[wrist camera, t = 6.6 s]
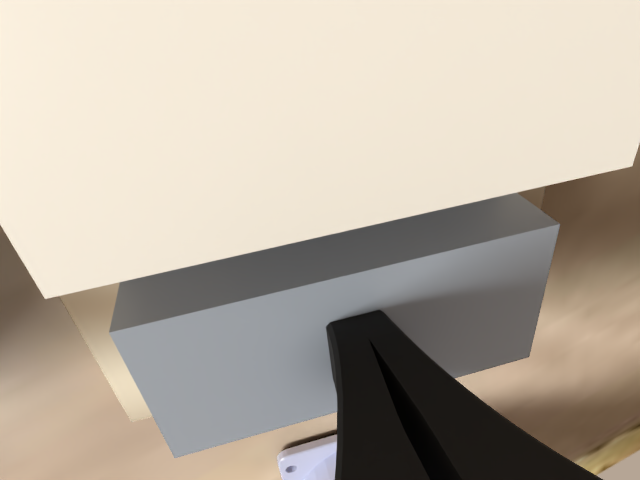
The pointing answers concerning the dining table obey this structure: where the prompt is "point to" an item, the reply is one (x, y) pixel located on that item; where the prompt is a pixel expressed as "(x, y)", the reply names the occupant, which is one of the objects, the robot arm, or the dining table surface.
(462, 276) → the grey rectangular block
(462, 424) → the robot arm
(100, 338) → the wooden tray
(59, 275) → the ivory key
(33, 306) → the dining table surface
